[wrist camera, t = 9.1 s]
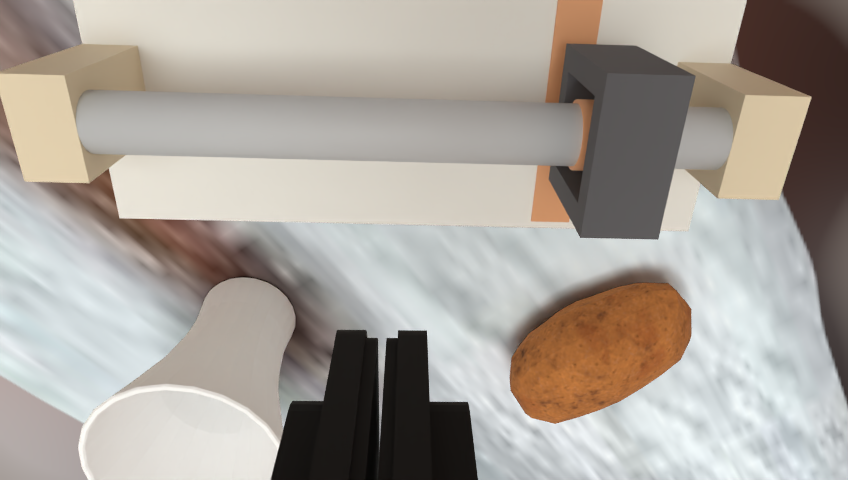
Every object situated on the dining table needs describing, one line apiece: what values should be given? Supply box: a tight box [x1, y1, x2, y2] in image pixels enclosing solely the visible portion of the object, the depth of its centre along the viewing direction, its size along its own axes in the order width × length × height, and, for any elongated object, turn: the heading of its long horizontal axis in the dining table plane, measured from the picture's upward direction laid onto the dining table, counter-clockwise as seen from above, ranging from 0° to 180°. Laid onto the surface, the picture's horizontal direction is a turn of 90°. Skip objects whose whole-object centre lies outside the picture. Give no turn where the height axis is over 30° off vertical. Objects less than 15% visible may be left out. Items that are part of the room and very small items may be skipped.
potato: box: [510, 283, 691, 424], centre depth 40 cm, size 7×13×7 cm, turn 118°
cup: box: [78, 277, 295, 480], centre depth 37 cm, size 10×10×14 cm
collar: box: [549, 43, 696, 239], centre depth 29 cm, size 7×4×7 cm, turn 178°
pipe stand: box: [0, 0, 811, 231], centre depth 32 cm, size 16×36×9 cm, turn 88°
